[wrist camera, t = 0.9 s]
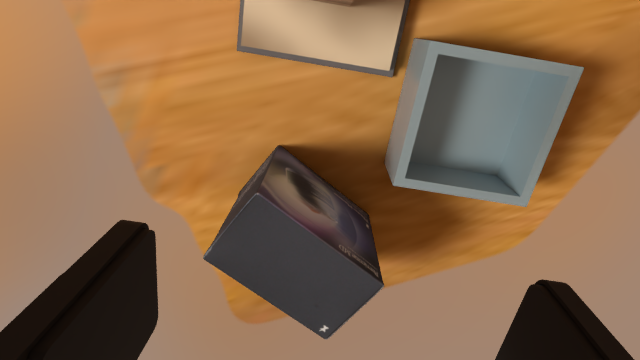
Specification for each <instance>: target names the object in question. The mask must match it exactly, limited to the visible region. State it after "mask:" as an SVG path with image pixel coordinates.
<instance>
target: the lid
mask: <svg viewBox="0 0 640 360" xmlns="http://www.w3.org/2000/svg"><path fill="white" fill-rule="evenodd" d="M404 3H405V0H244V13H243V26H242V39H241V46H247V47H252V48H258V49H264V50H270V51H276V52H282V53H287V54H293V55H299V56H305V57H311V58H317V59H322V60H328V61H334V62H340V63H346V64H352V65H357V66H363V67H369V68H375V69H381V70H387V71H389V70H390V66H391V61H392V57H393V52H394V48H395V43H396V39H397V35H398V30H399V26H400V21H401V17H402V12H403V8H404Z"/></svg>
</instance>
